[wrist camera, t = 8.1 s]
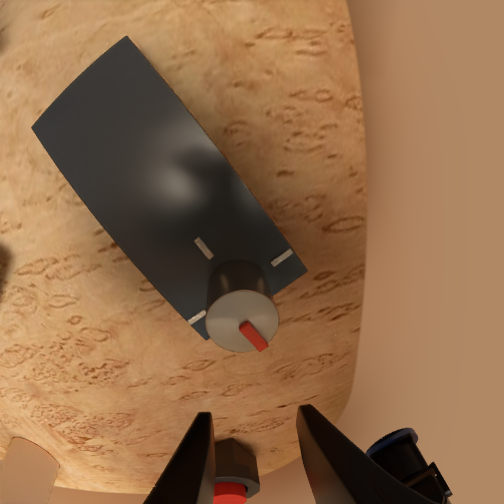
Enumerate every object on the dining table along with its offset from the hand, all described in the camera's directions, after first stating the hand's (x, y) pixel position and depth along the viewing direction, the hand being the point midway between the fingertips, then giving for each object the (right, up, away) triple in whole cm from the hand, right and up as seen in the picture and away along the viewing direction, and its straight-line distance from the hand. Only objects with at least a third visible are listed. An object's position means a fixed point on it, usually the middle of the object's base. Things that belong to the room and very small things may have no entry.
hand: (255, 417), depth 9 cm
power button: (-3, -19, +15) cm, 24 cm away
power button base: (-4, -18, +19) cm, 27 cm away
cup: (-32, -24, +19) cm, 44 cm away
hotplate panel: (-5, +9, +10) cm, 14 cm away
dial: (-1, +3, +9) cm, 10 cm away
